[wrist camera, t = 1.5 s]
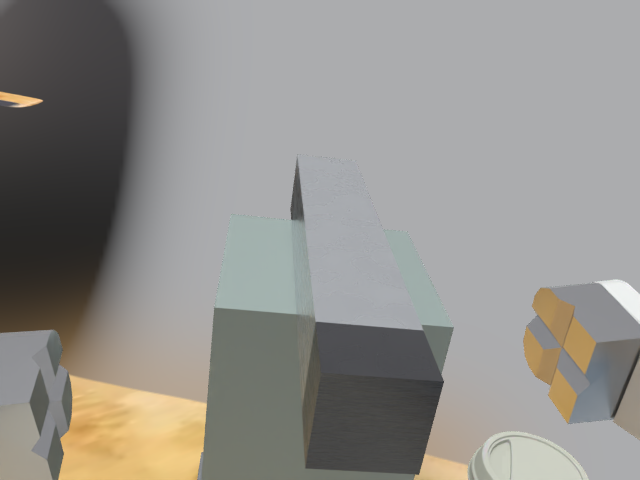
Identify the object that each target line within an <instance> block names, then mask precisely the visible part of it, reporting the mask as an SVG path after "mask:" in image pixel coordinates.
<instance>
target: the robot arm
mask: <svg viewBox="0 0 640 480" xmlns="http://www.w3.org/2000/svg"><path fill="white" fill-rule="evenodd" d="M532 307H533V309H534V311H535V313H536V314H537V316H536V317H535V318H534V319H533V320H532V321H531V322H530V323H529V324H528V325H527V327H526V331H525V336H524V341H523V342H524V351H525V357H526V360H527V362H528V365H529V367H530V369H531V370H532V372H533V373H534V375H535V376H536V377H537V378H539V379H540V380H542V381H544V382H545V383H547V384H549V385H550V388H549V394H548V396H549V397H550V399H551V400H552V401H553V403H554V404H555V406H556V407H557V409H558V410H559V412H560V413H561V414H562V416H563V417H564V419H565V420H566V422H567V423H568V424H572V423H582V422H592V421H602V420H612V419H614V421H613V422H614V423H616V424H617V425H619V426H620V427H621V428H623V429H624V430H626V431H627V432H629V433H630V434H631V435H633V436H634V437H636V438H637V439H639V440H640V295H639V294H638V293H637V292H636V291H635V290H634V289H633V288H632V287H631V286H630V285H629V284H628V283H626V282H624V281H621V280H619V279H616V280H608V281H599V282H592V283H588V284H577V285H566V286H555V287H545V288H540V289H539V291H538V292H537V293H536V295H535V297H534V301H533V304H532ZM62 351H63V350H62V345H61V342H60V338H59V335H58V333H57V332H56V331H55V330H42V331H27V332H12V333H0V480H58V478H59V473H60V468H61V464H62V459H63V455H64V453H63V449H62V445H61V441H60V438H61V437H62V436H63V435H64V434H65V433H66V432H67V431H68V430H69V426H70V420H71V415H72V390H71V382H70V378H69V373H68V371H67V370H66V369H65V368H63V367H62V366H60V365H59V363H60V359H61V354H62Z"/></svg>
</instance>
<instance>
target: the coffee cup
mask: <svg viewBox="0 0 640 480" xmlns="http://www.w3.org/2000/svg"><path fill="white" fill-rule="evenodd" d="M468 480H589V479H588V477H587V474H586V473H585V471H584V469H583V468H582V466H580V464H579V463H578V462H577V461H576V460H575V459H574V457H572V456H571V455H570V454H569V453H568V452H566V451H565V450H564V449H562V448H561V447H559V446H558V445H556V444H554V443H552V442H550V441H549V440H547V439H544V438H542V437H539V436H536V435H533V434H529V433H524V432H516V431H512V432H511V431H510V432H502V433H498V434H495V435H494V436H492V437H490V438H489V439H488V440H487V441H486V442H485V443H484V445H482V446H481V447H480V448H479V449H478V450H477V451H476V452H475V454H474V455H473V457H472V459H471V460H470V462H469V465H468Z"/></svg>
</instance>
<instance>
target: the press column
mask: <svg viewBox="0 0 640 480" xmlns="http://www.w3.org/2000/svg"><path fill="white" fill-rule="evenodd" d="M384 233H385V235H386V238H387V240H388V243H389V245H390V248H391V250H392V253H393V255H394V258H395V260H396V263H397V265H398V268H399V270H400V273H401V275H402V278H403V280H404V283H405V285H406V288H407V290H408V293H409V295H410V298H411V300H412V303H413V305H414V308H415V310H416V313H417V315H418V318H419V320H420V323H421V325H422V328H423V330H424V333H425V335H426V338H427V341H428V343H429V346H430V348H431V351H432V353H433V356H434V358H435V361H436V363H437V366H438V368H439V371H440V373H441V374H442V370H443V366H444V362H445V359H446V355H447V351H448V347H449V344H450V339H451V336H452V332H453V328H454V327H453V325H452V323H451V321H450V319H449V316H448V315H447V312H446V310H445V308H444V306H443V304H442V302H441V300H440V298H439V296H438V294H437V292H436V290H435V288H434V286H433V284H432V281H431V279H430V278H429V275H428V273H427V271H426V269H425V267H424V265H423V263H422V261H421V259H420V257H419V255H418V253H417V251H416V249H415V247H414V245H413V243H412V240H411V238H410V236H409V234H408V232H403V231H394V230H384ZM414 476H415V474H397V473H379V472H360V471H342V470H323V469H305V456H304V439H303V421H302V403H301V386H300V368H299V351H298V333H297V315H296V298H295V280H294V262H293V245H292V227H291V220H284V219H275V218H265V217H255V216H245V215H235V214H231V218H230V223H229V229H228V235H227V240H226V246H225V251H224V257H223V263H222V268H221V274H220V279H219V284H218V290H217V296H216V301H215V307H214V319H213V332H212V346H211V359H210V371H209V385H208V398H207V411H206V424H205V437H204V451H203V452H202V453H201V459H200V466H199V472H198V479H197V480H414Z"/></svg>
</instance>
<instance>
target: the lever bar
mask: <svg viewBox="0 0 640 480" xmlns="http://www.w3.org/2000/svg"><path fill="white" fill-rule="evenodd" d="M290 210H291V227H292V245H293V262H294V280H295V298H296V315H297V333H298V351H299V368H300V386H301V403H302V421H303V439H304V456H305V469H323V470H342V471H360V472H379V473H397V474H416V475H419V473H420V469H421V465H422V461H423V458H424V454H425V450H426V446H427V443H428V439H429V435H430V432H431V428H432V424H433V420H434V417H435V413H436V409H437V405H438V402H439V398H440V394H441V390H442V387H443V383H444V381H443V378H442V376H441V373H440V371H439V368H438V366H437V363H436V361H435V358H434V356H433V353H432V351H431V348H430V346H429V343H428V341H427V338H426V335H425V333H424V330H423V328H422V325H421V323H420V320H419V318H418V315H417V313H416V310H415V308H414V305H413V303H412V300H411V298H410V295H409V293H408V290H407V288H406V285H405V283H404V280H403V278H402V275H401V273H400V270H399V268H398V265H397V263H396V260H395V258H394V255H393V253H392V250H391V248H390V245H389V243H388V240H387V238H386V235H385V233H384V230H383V228H382V225H381V223H380V220H379V218H378V215H377V213H376V210H375V208H374V205H373V203H372V200H371V198H370V195H369V193H368V190H367V188H366V185H365V183H364V180H363V178H362V175H361V173H360V170H359V168H358V165H357V163H356V161H352V160H343V159H335V158H327V157H317V156H308V155H300V154H298V155H297V161H296V169H295V178H294V185H293V194H292V201H291V209H290Z"/></svg>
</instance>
